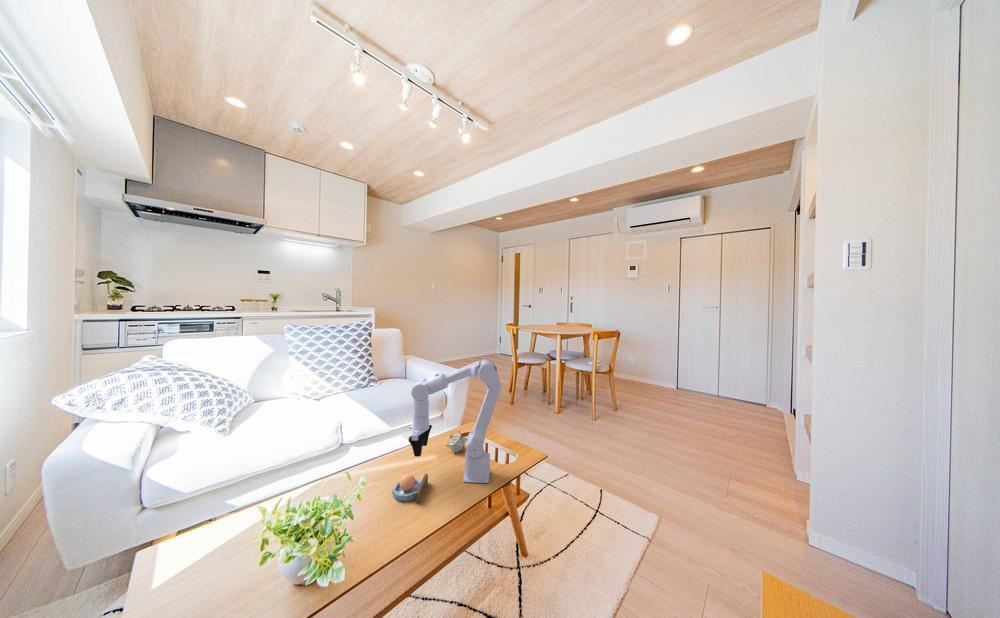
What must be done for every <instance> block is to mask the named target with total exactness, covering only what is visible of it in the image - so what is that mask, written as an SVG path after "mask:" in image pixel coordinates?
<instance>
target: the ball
mask: <svg viewBox="0 0 1000 618" xmlns="http://www.w3.org/2000/svg"><path fill="white" fill-rule="evenodd" d="M415 479H416V478H415V476H414V475H413V474H411V473H407V474H403V476H402V477H401V479H400V480H399V482H400V488H401V489H402V490H403V491H410V490H412V489H413V487H414V486H415Z"/></svg>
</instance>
